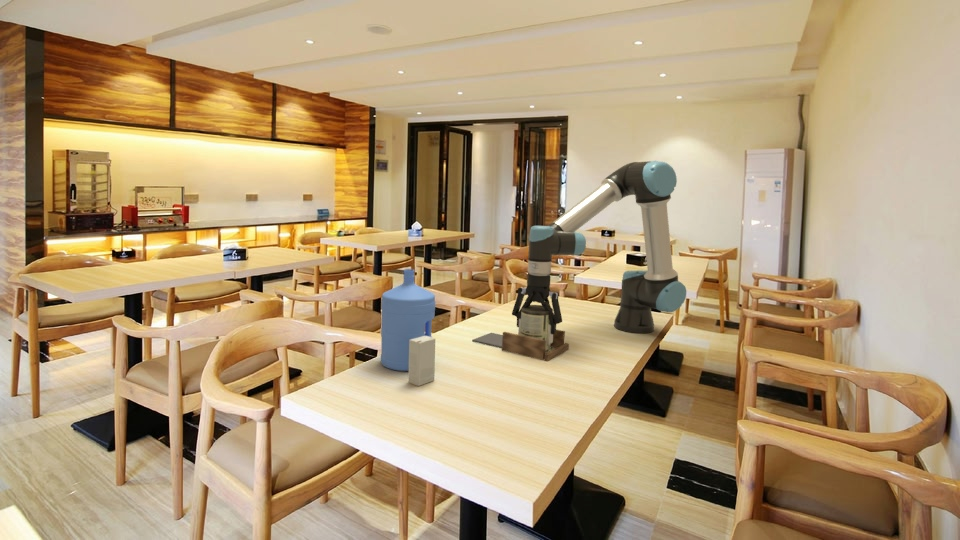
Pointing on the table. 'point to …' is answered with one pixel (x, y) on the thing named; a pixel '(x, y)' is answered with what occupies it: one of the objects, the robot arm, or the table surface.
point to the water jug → (404, 320)
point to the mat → (490, 340)
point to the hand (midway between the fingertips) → (535, 340)
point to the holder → (534, 345)
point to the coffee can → (535, 323)
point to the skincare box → (421, 360)
